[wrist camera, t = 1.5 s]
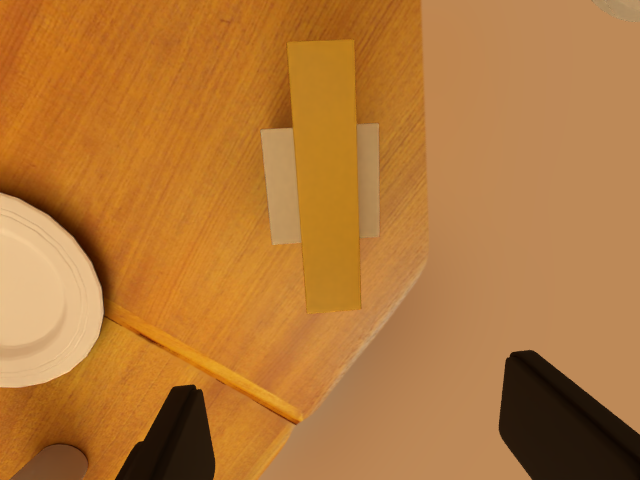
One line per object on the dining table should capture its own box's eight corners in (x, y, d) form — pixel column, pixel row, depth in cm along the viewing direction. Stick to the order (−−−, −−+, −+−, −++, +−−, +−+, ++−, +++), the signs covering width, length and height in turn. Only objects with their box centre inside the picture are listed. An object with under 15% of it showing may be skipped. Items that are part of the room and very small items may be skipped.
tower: (268, 135, 29) (250, 120, 18) (352, 130, 30) (387, 113, 18) (276, 218, 32) (264, 253, 20) (354, 212, 32) (387, 243, 20)
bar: (288, 60, 17) (286, 40, 14) (345, 58, 17) (354, 38, 15) (305, 293, 21) (306, 314, 18) (352, 289, 21) (361, 310, 18)
